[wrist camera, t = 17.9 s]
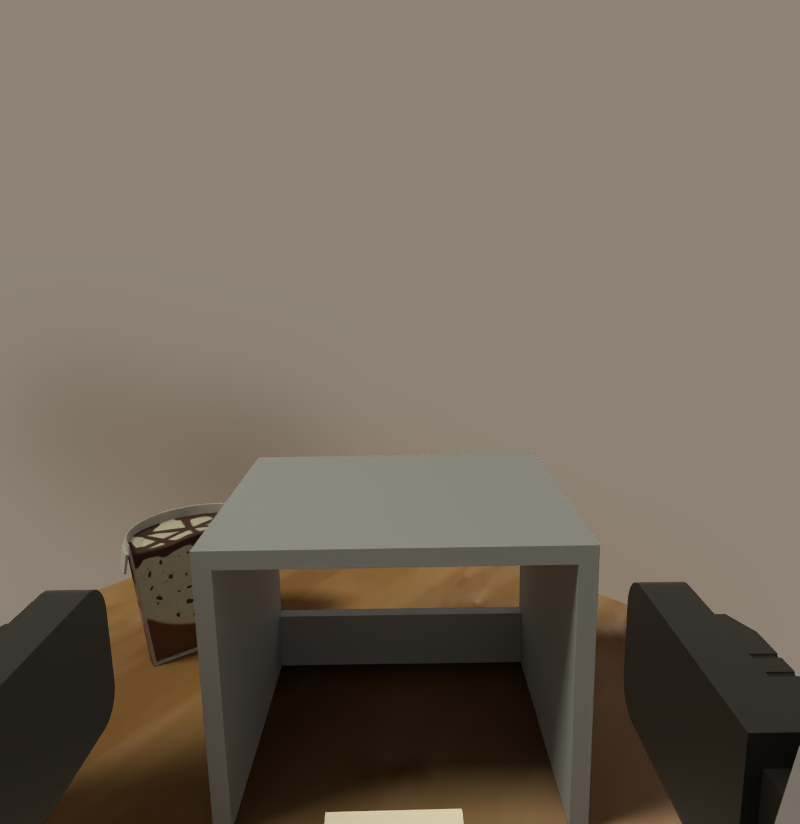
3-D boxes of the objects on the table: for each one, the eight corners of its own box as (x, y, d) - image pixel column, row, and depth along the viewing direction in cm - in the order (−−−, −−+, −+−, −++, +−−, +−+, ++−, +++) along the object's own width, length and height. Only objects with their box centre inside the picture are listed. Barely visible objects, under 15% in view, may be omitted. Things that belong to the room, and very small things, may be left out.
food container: (247, 595, 65) (240, 491, 63) (280, 620, 60) (274, 509, 58) (109, 640, 58) (96, 524, 56) (134, 673, 53) (121, 547, 51)
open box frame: (213, 832, 38) (189, 551, 35) (271, 658, 55) (258, 457, 51) (588, 827, 38) (599, 545, 34) (531, 654, 54) (535, 452, 51)
